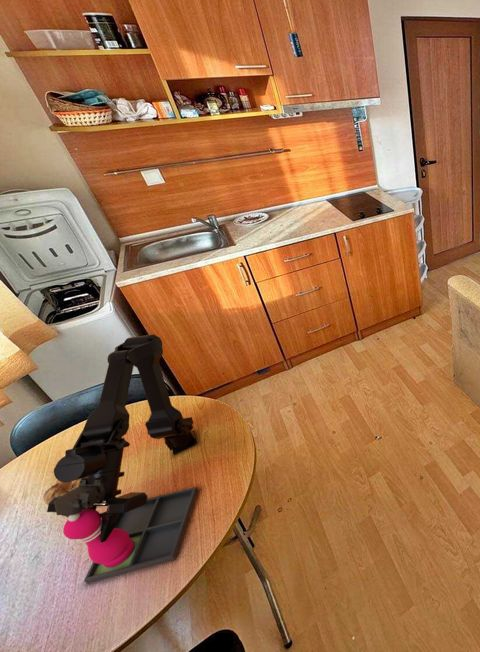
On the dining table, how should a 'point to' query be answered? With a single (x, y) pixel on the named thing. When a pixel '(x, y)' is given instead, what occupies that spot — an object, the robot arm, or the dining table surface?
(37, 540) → the dining table surface
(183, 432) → the robot arm
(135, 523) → the grid
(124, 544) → the pepper mill
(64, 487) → the lion figurine
